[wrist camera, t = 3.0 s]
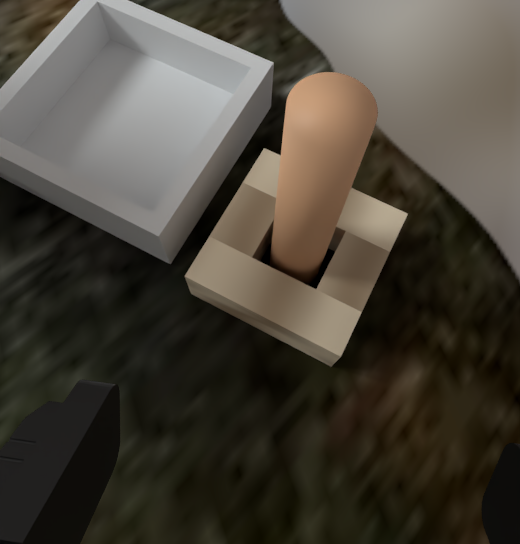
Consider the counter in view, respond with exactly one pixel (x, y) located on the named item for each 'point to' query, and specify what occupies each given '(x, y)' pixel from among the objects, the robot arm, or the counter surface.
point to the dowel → (318, 167)
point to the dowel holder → (282, 288)
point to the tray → (131, 121)
